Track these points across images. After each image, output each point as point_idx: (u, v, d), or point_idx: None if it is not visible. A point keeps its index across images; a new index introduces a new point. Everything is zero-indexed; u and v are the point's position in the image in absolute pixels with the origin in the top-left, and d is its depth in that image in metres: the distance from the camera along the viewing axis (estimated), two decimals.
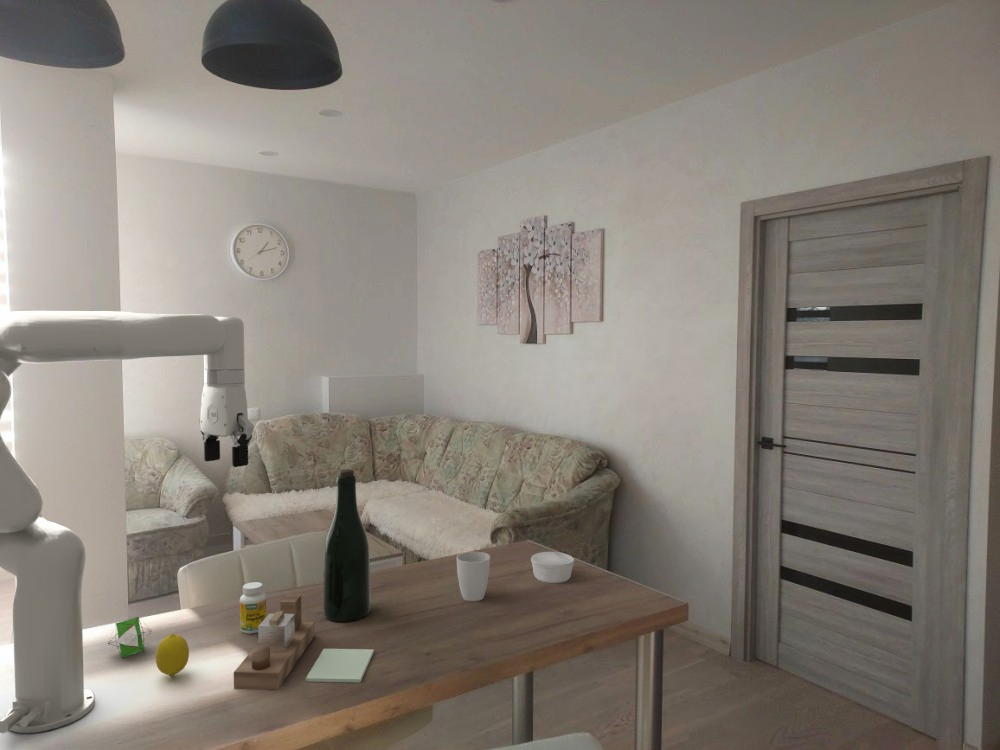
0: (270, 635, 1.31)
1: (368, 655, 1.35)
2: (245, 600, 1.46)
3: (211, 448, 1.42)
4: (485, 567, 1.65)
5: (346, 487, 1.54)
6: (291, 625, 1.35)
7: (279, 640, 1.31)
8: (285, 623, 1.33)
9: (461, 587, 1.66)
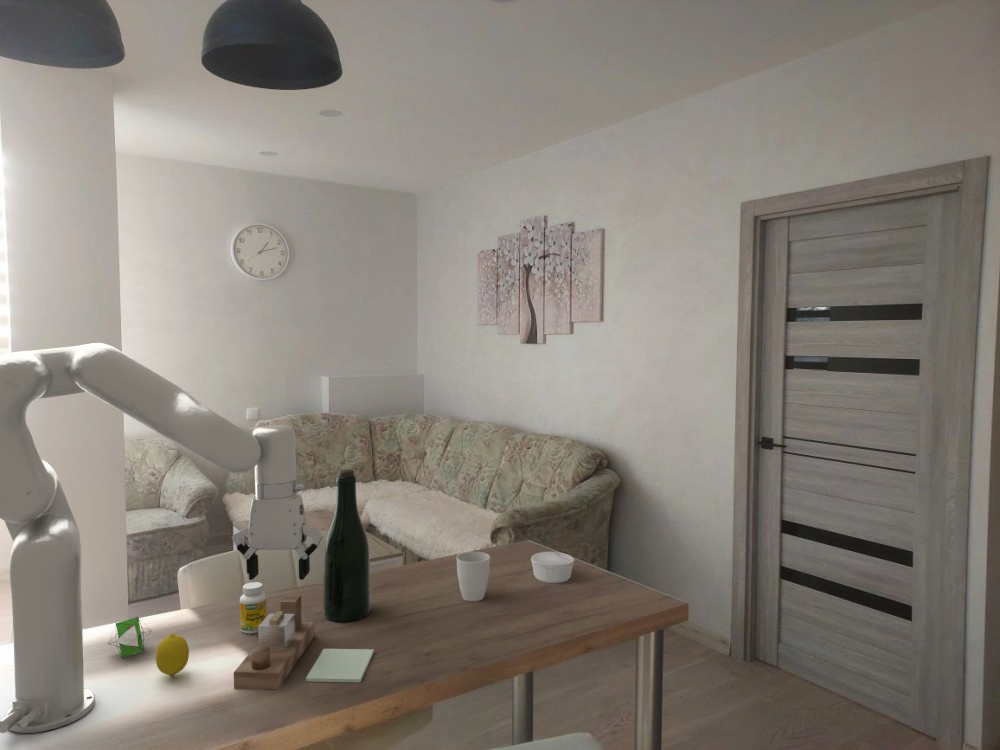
0: (270, 635, 1.31)
1: (368, 655, 1.35)
2: (245, 600, 1.46)
3: None
4: (485, 567, 1.65)
5: (346, 487, 1.54)
6: (291, 625, 1.35)
7: (279, 640, 1.31)
8: (285, 623, 1.33)
9: (461, 587, 1.66)
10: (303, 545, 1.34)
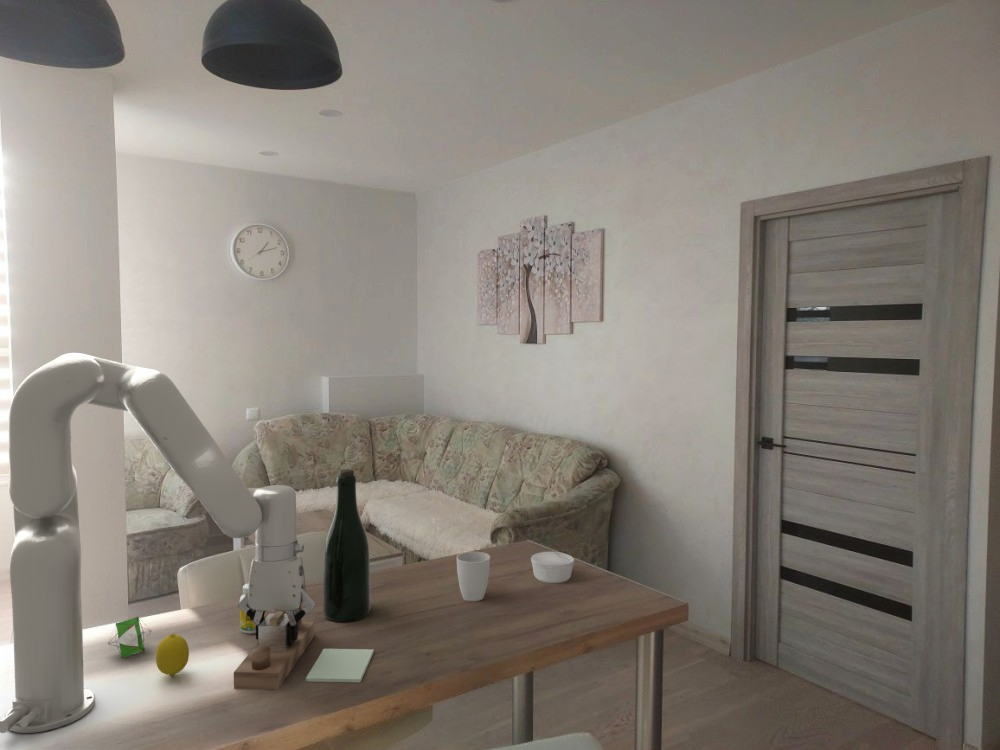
0: (270, 635, 1.31)
1: (368, 655, 1.35)
2: None
3: None
4: (485, 567, 1.65)
5: (346, 487, 1.54)
6: None
7: (279, 640, 1.31)
8: (285, 623, 1.33)
9: (461, 587, 1.66)
10: (295, 610, 1.35)
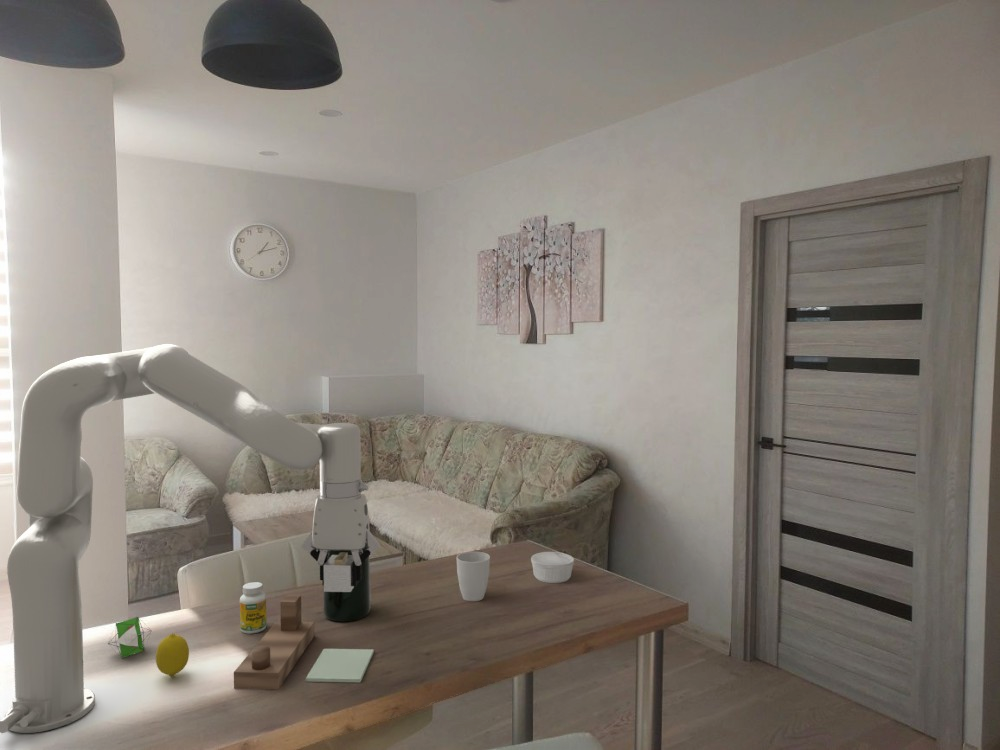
0: (335, 574, 1.28)
1: (368, 655, 1.35)
2: (245, 600, 1.46)
3: None
4: (485, 567, 1.65)
5: None
6: None
7: (345, 579, 1.28)
8: (350, 562, 1.30)
9: (461, 587, 1.66)
10: (359, 550, 1.32)
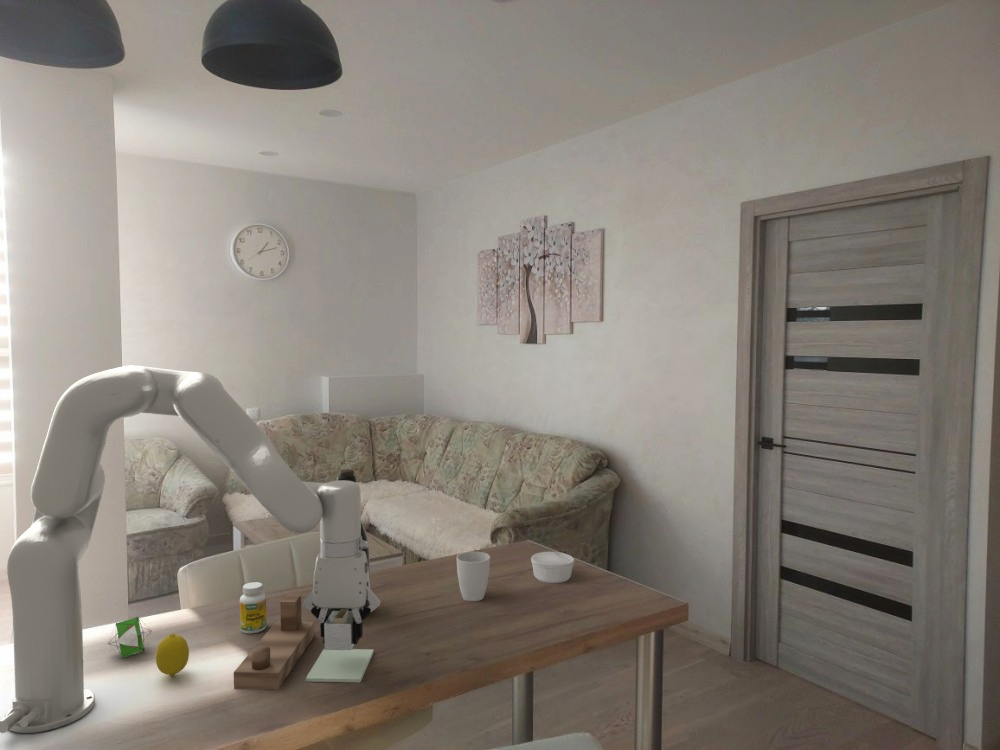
0: (336, 633, 1.29)
1: (368, 655, 1.35)
2: (245, 600, 1.46)
3: None
4: (485, 567, 1.65)
5: None
6: None
7: (345, 638, 1.29)
8: (351, 620, 1.30)
9: (461, 587, 1.66)
10: (360, 607, 1.32)
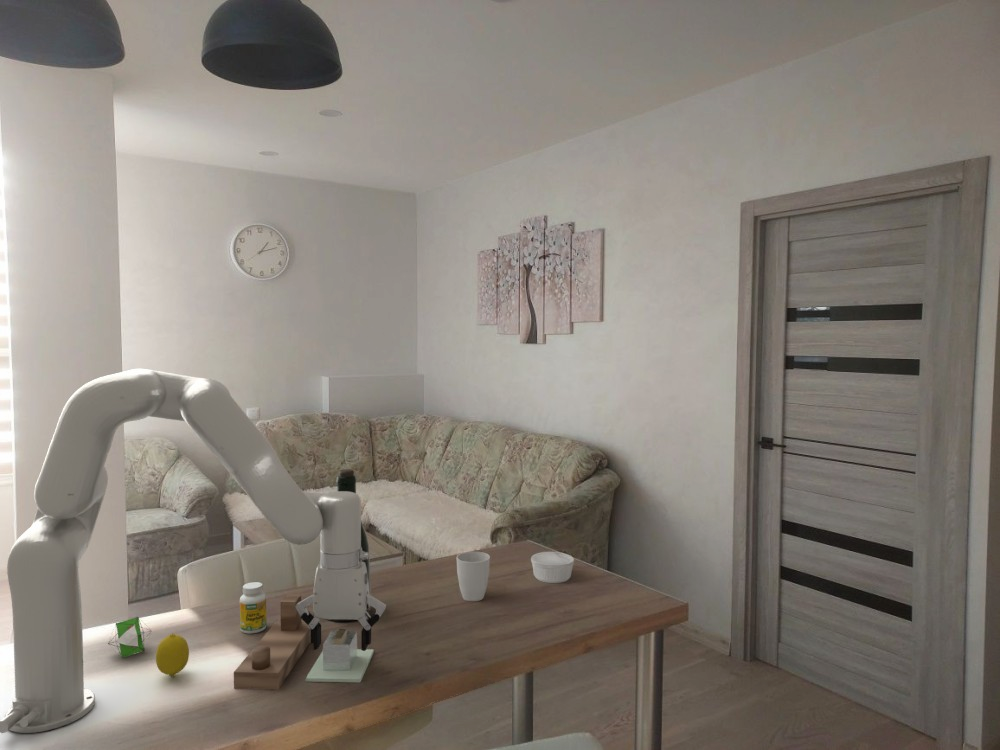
0: (335, 653, 1.29)
1: (368, 655, 1.35)
2: (245, 600, 1.46)
3: None
4: (485, 567, 1.65)
5: (346, 487, 1.54)
6: (354, 643, 1.33)
7: (344, 658, 1.29)
8: (350, 641, 1.30)
9: (461, 587, 1.66)
10: (365, 614, 1.32)
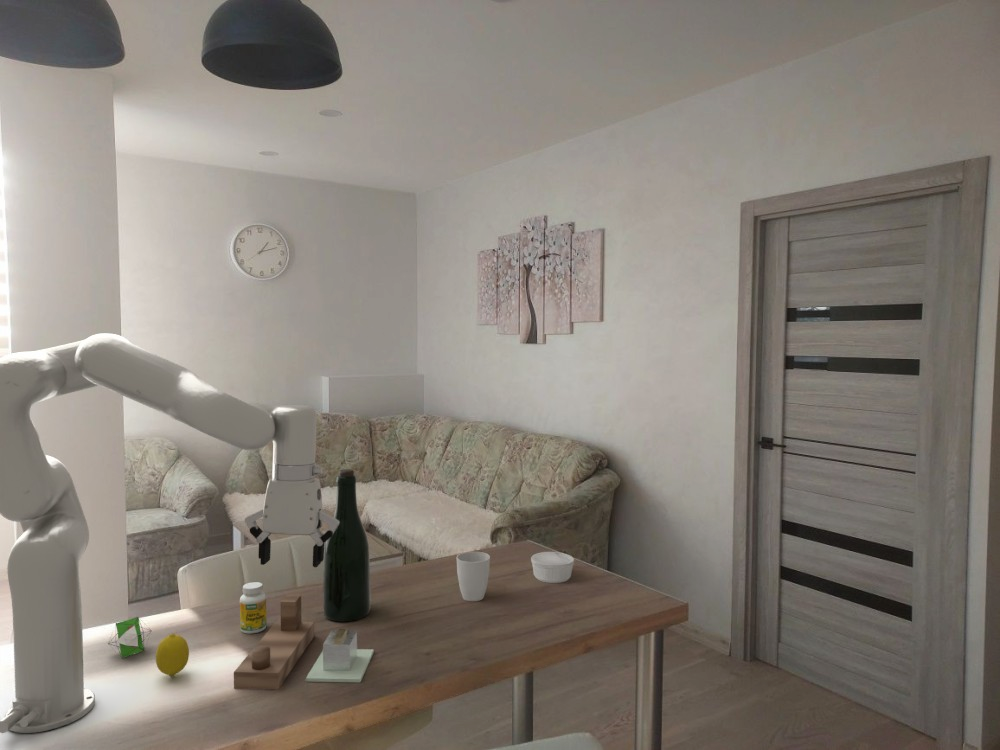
0: (335, 653, 1.29)
1: (368, 655, 1.35)
2: (245, 600, 1.46)
3: None
4: (485, 567, 1.65)
5: (346, 487, 1.54)
6: (354, 643, 1.33)
7: (344, 658, 1.29)
8: (350, 641, 1.30)
9: (461, 587, 1.66)
10: (318, 531, 1.29)
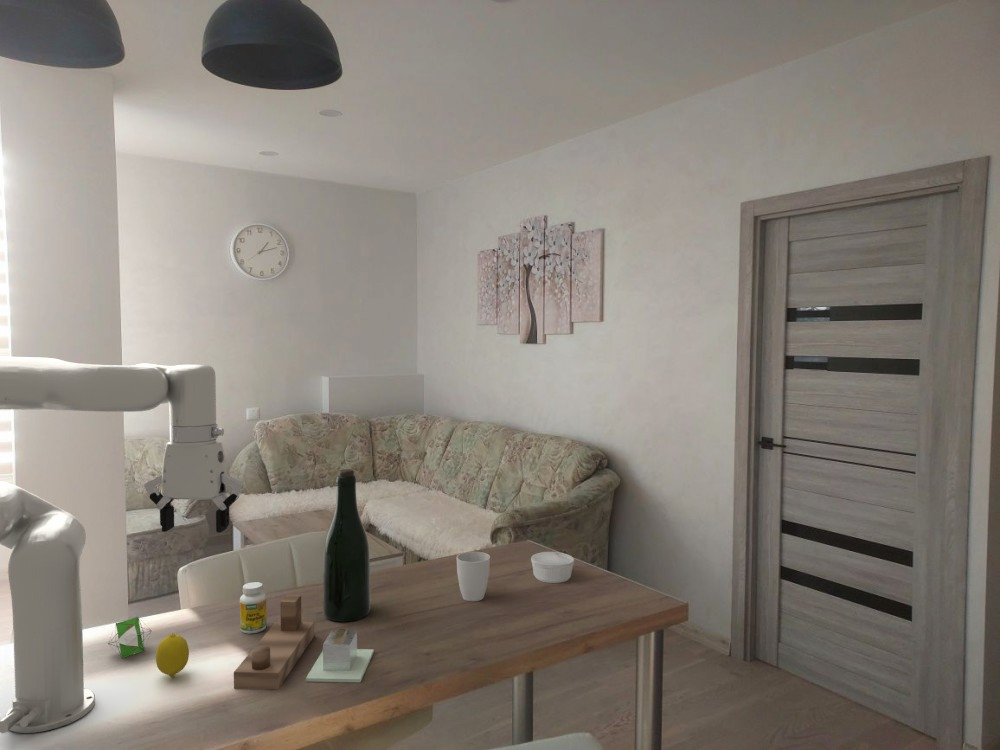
0: (335, 653, 1.29)
1: (368, 655, 1.35)
2: (245, 600, 1.46)
3: None
4: (485, 567, 1.65)
5: (346, 487, 1.54)
6: (354, 643, 1.33)
7: (344, 658, 1.29)
8: (350, 641, 1.30)
9: (461, 587, 1.66)
10: (222, 496, 1.24)
